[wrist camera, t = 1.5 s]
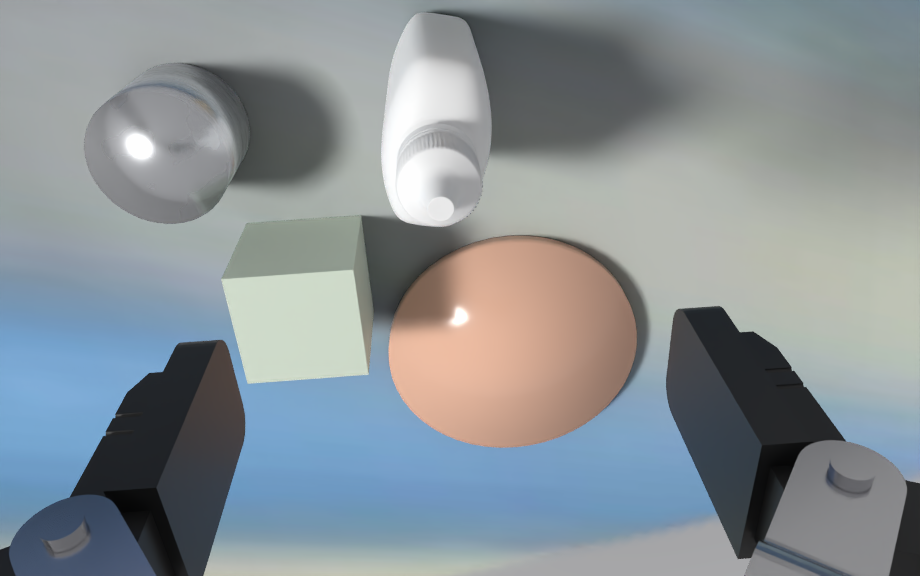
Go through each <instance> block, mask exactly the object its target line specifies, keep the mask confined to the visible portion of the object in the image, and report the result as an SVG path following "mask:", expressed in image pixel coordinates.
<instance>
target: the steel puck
mask: <svg viewBox="0 0 920 576" xmlns="http://www.w3.org/2000/svg"><path fill="white" fill-rule="evenodd" d="M249 141H250V125H249V120H248V116H247V113H246V110H245V108H244V106H243V104H242V102H241V100H240V99H239V97H238V96H237V94H236V93H235V92H234V91H233V90H232V88H231V87H230V86H229V85H228V84H227V83H225V82H224V81H223V80H222V79H221V78H219V77H218V76H216V75H215V74H213V73H211V72H209V71H207V70H206V69H203V68H200V67H198V66H194V65H190V64H184V63H168V64H162V65H158V66H155V67H153V68H150V69H148V70H147V71H145V72H143V73H142V74H141V75H139V76H138V77H137V78H136V79H134V80H133V81H132V82H131V83H129V84H128V85H127V86H126V87H124V88H123V89H122V90H121V91H119V92H118V93H117V94H116V95H114V96H113V97H112V98H111V99H109V100H108V101H107V102H106V103H104V104H103V105H102V106H101V107H100V108H99V109H98V110H97V111H96V112H95V114H94V115H93V116H92V118H91V120H90V122H89V124H88V127H87V129H86V133H85V139H84V151H85V158H86V162H87V166H88V168H89V171H90V173H91V175H92V177H93V179H94V181H95V182H96V184H97V185H98V186H99V188H100V189H101V191H102V192H103V193H104V194H105V195H106V196H107V197H108V198H109V199H110V200H111V201H112V202H113V203H115V204H116V205H117V206H119V207H120V208H121V209H123V210H125V211H126V212H128V213H130V214H132V215H134V216H136V217H138V218H141V219H144V220H147V221H151V222H156V223H164V224H176V223H184V222H188V221H191V220H194V219H197V218H199V217H201V216H203V215H204V214H206V213H207V212H209V211H210V210H211V209H212V208H213V207H214V206H215V205H216V204H217V203H218V202H219V200H220V199H221V197H222V196H223V194H224V192H225V191H226V189H227V187H228V185H229V183H230V182H231V180H232V178H233V176H234V175H235V173H236V171H237V169H238V167H239V166H240V164H241V162H242V160H243V159H244V157H245V154H246V152H247V149H248V146H249Z"/></svg>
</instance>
